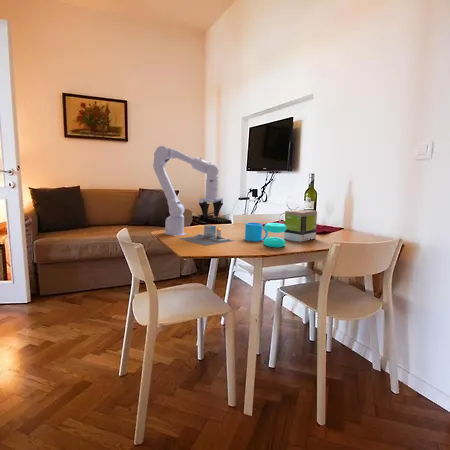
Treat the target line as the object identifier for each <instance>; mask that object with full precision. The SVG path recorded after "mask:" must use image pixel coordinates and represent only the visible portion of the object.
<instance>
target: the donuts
mask: <svg viewBox="0 0 450 450" xmlns="http://www.w3.org/2000/svg"><path fill="white" fill-rule="evenodd" d="M263 227H264V228H265V230H266V231H267V232H269V233H273V234H281V233H284V231H286V229H287V227H286V225H285V223H279V222H267V223H265V224H264V226H263ZM263 245H265V246H266V247H269V248H283V247H285V246H286V239H284V238H281V237H277V236H267V238H266V239H265V240H263Z"/></svg>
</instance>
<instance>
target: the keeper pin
mask: <svg viewBox="0 0 450 450" xmlns="http://www.w3.org/2000/svg"><path fill="white" fill-rule="evenodd" d="M216 237H217V238H216V239H218V240H220V239H221V237H222V229H221V228H216Z"/></svg>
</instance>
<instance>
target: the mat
mask: <svg viewBox="0 0 450 450" xmlns="http://www.w3.org/2000/svg"><path fill="white" fill-rule="evenodd" d="M178 240H182V241H185V242H189V243H194V244H197V245H201V246H203V247H204V246H205V247H207V246H212V245H218V244H225V243H231V242H235V240H233V239H229V240H228V241H222V242H216V241H212V240H208V239H207V238H204V237H202V236H196V235H194V236H187V237H180V238H178Z"/></svg>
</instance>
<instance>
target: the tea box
mask: <svg viewBox="0 0 450 450" xmlns="http://www.w3.org/2000/svg"><path fill="white" fill-rule="evenodd" d="M317 221H318V211H317V210H312V209H302V208H300V209H292V210H285V211H284V225H286V227H287V229H286V231H284V232H283V240H287V241H292V242H297V241H298V243H301V242H305V241H310V239H311V240H314V239H315V238H317V225H318V224H317ZM315 240H316V239H315Z"/></svg>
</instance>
